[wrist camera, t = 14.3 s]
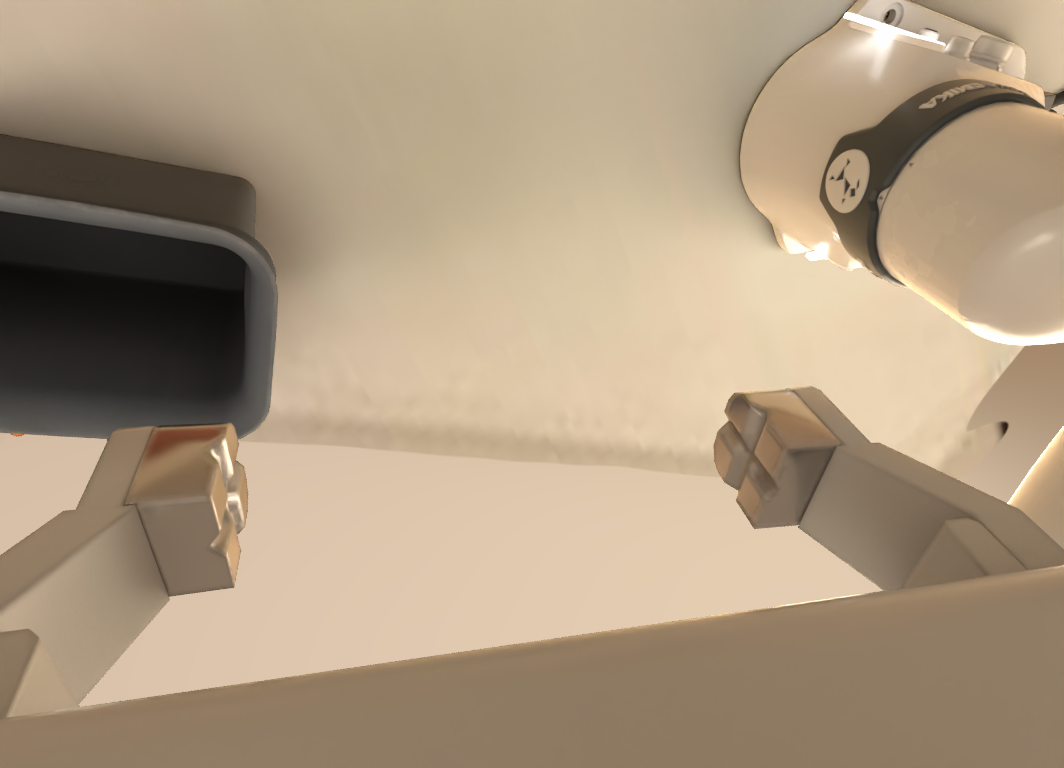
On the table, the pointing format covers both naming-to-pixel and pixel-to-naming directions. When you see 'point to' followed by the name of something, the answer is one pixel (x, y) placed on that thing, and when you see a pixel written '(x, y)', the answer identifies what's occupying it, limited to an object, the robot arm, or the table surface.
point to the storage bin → (129, 295)
